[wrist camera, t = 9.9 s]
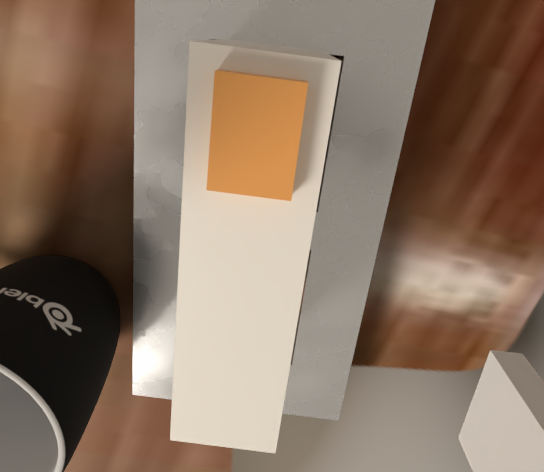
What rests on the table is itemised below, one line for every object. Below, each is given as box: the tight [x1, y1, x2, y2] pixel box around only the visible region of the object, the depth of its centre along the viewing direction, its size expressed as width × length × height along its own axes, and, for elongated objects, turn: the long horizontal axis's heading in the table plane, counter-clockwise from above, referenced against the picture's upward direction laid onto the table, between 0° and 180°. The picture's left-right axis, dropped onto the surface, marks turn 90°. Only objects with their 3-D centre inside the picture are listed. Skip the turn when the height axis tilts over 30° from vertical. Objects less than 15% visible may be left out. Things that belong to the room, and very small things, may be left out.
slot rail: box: [133, 0, 435, 420], centre depth 24 cm, size 12×23×2 cm, turn 173°
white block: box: [170, 39, 341, 453], centre depth 19 cm, size 4×14×10 cm, turn 173°
